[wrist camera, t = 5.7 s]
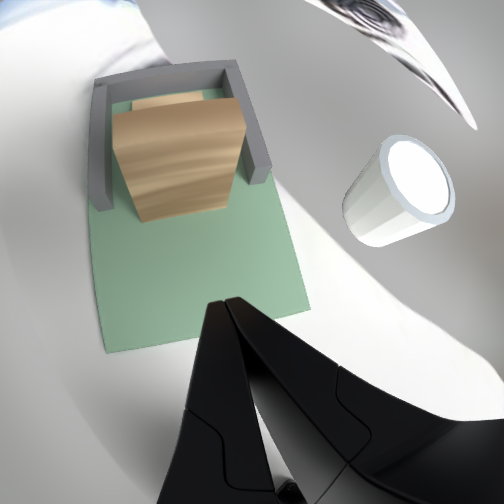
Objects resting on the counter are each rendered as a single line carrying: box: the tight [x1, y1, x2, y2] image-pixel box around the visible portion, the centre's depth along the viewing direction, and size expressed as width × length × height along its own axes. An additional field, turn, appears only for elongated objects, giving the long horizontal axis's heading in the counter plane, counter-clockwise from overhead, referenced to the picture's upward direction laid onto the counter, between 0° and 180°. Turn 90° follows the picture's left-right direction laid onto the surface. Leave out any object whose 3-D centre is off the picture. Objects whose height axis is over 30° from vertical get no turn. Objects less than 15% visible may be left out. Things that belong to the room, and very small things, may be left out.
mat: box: [88, 88, 311, 353], centre depth 22 cm, size 22×14×1 cm, turn 14°
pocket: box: [88, 60, 272, 212], centre depth 21 cm, size 12×12×2 cm
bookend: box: [113, 91, 247, 223], centre depth 18 cm, size 11×6×9 cm, turn 14°
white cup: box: [342, 135, 455, 247], centre depth 21 cm, size 7×7×7 cm
